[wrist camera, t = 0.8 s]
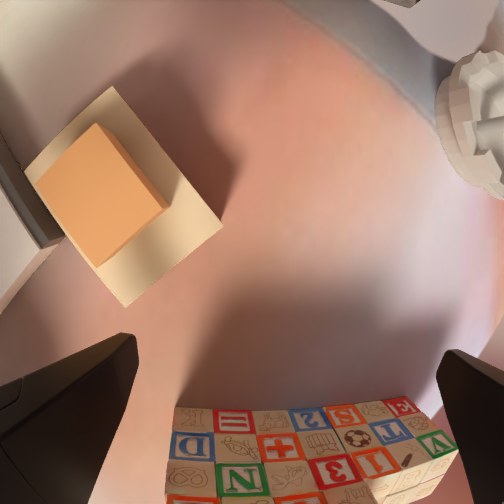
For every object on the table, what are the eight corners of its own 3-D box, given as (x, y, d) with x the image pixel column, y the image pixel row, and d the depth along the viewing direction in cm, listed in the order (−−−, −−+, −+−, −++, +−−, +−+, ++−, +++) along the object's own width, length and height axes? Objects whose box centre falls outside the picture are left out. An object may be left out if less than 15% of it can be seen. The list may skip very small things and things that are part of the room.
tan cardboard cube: (114, 255, 15) (96, 268, 12) (61, 185, 14) (34, 183, 11) (170, 206, 15) (162, 208, 12) (114, 134, 14) (95, 122, 11)
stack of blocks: (406, 393, 25) (483, 468, 13) (387, 439, 26) (446, 515, 14) (172, 405, 22) (162, 537, 10) (175, 456, 23) (172, 571, 11)
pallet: (139, 288, 20) (125, 307, 16) (53, 175, 18) (23, 171, 14) (220, 220, 20) (223, 225, 16) (128, 105, 18) (112, 85, 14)
